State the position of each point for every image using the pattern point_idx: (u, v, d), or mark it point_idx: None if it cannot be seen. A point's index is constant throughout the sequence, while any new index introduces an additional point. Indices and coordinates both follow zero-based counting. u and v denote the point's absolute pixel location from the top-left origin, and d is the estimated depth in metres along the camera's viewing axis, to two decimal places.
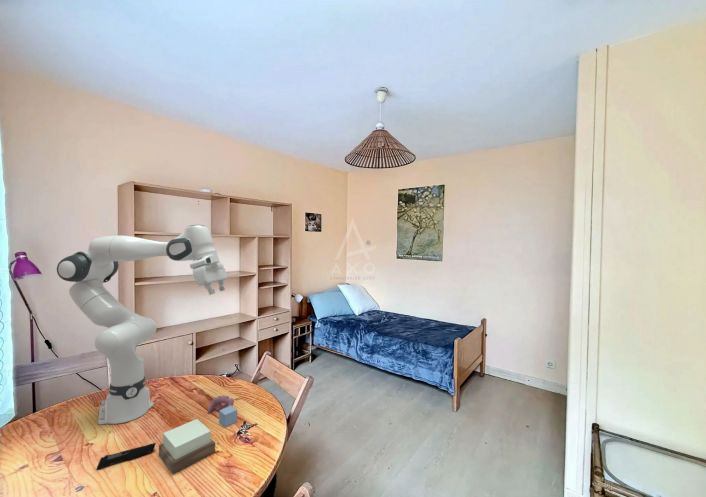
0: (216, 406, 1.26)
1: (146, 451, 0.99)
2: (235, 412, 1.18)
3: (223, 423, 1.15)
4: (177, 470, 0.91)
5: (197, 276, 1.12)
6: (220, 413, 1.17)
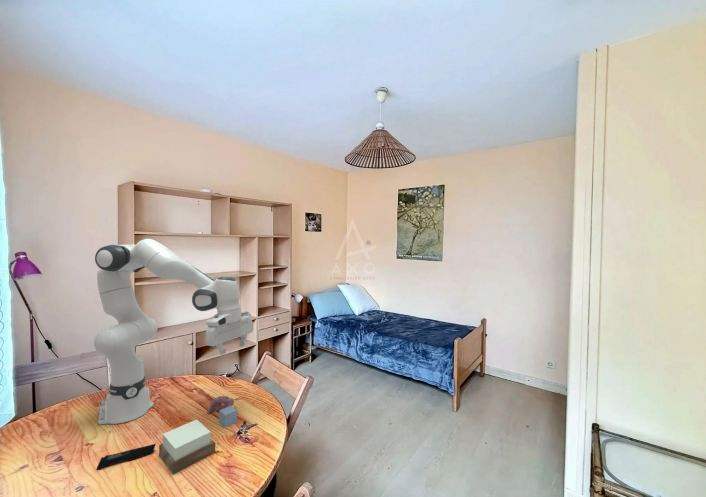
0: (216, 406, 1.26)
1: (146, 452, 0.98)
2: (235, 412, 1.18)
3: (223, 423, 1.15)
4: (177, 470, 0.91)
5: (207, 336, 1.11)
6: (220, 413, 1.17)
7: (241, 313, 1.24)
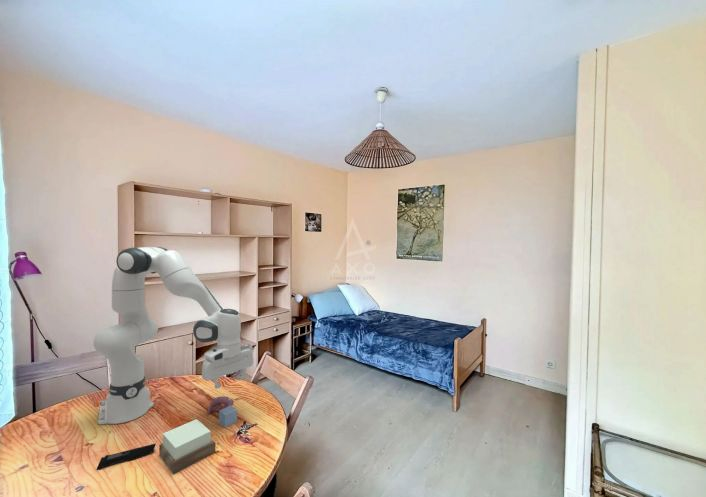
0: (215, 407, 1.26)
1: (146, 452, 0.98)
2: (235, 412, 1.18)
3: (223, 423, 1.15)
4: (177, 470, 0.91)
5: (203, 370, 1.11)
6: (220, 413, 1.17)
7: (242, 346, 1.22)
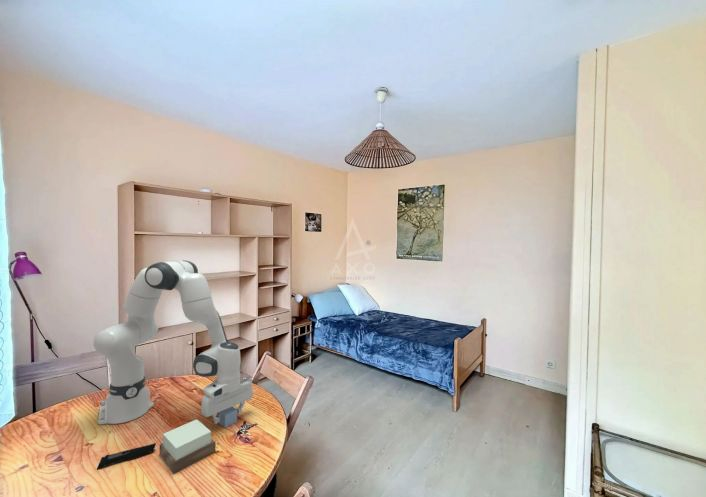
0: None
1: (146, 451, 0.99)
2: (235, 412, 1.18)
3: (223, 423, 1.15)
4: (177, 470, 0.91)
5: (202, 406, 1.11)
6: (220, 413, 1.17)
7: (241, 379, 1.22)
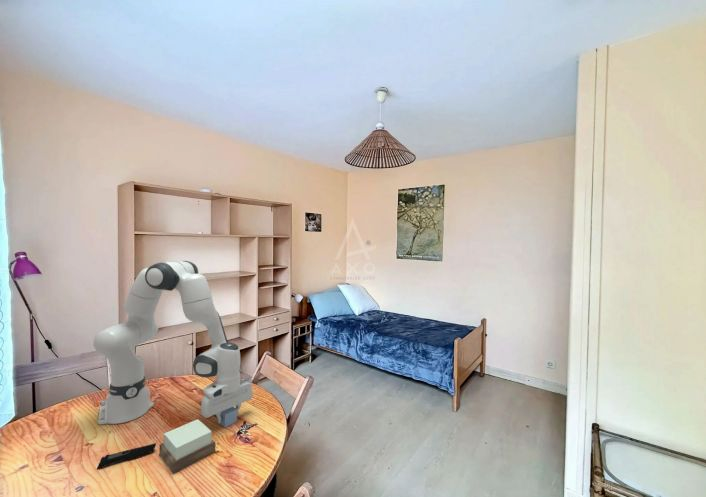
0: None
1: (146, 451, 0.98)
2: (235, 412, 1.18)
3: (223, 423, 1.15)
4: (177, 470, 0.91)
5: (202, 406, 1.11)
6: None
7: (241, 380, 1.22)
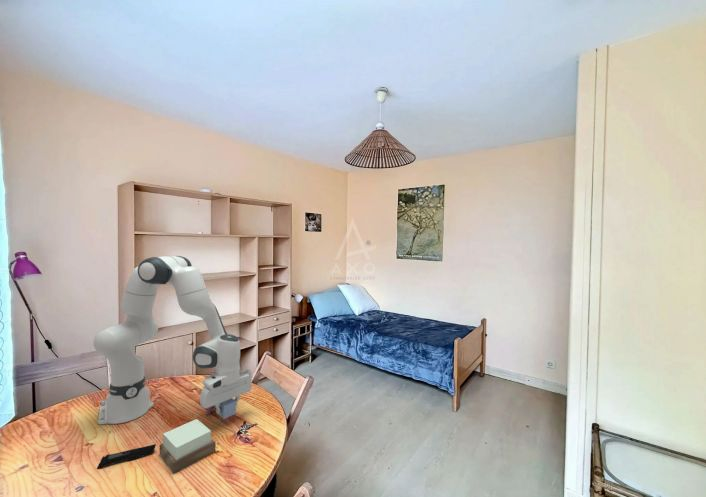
0: (215, 408, 1.25)
1: (146, 452, 0.98)
2: (234, 403, 1.18)
3: (222, 414, 1.15)
4: (178, 470, 0.92)
5: (201, 397, 1.11)
6: None
7: (241, 372, 1.22)
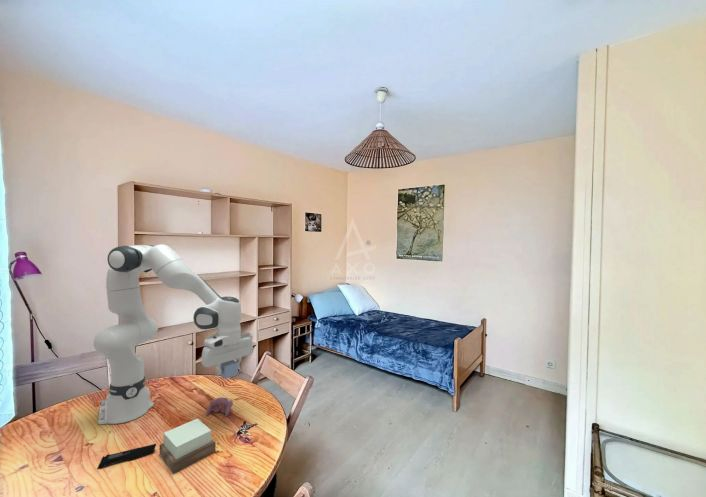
0: (214, 408, 1.25)
1: (146, 452, 0.98)
2: (236, 365, 1.17)
3: (224, 375, 1.15)
4: (177, 470, 0.92)
5: (202, 356, 1.11)
6: (221, 365, 1.17)
7: (242, 334, 1.22)
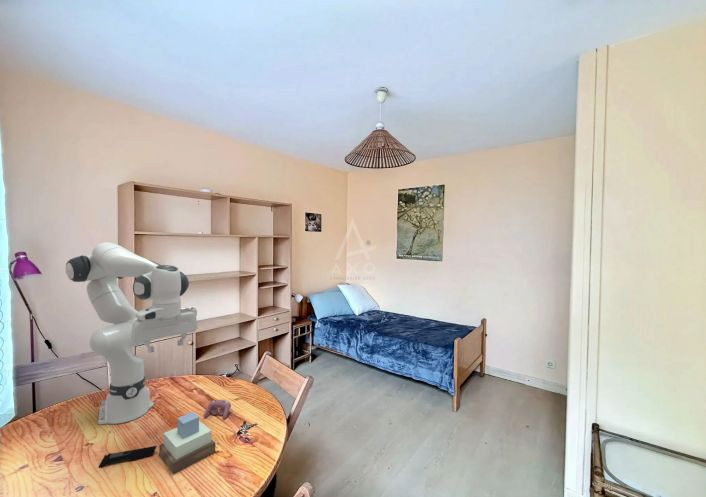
0: (212, 410, 1.23)
1: (146, 453, 0.97)
2: (196, 420, 0.99)
3: (181, 433, 0.97)
4: (177, 470, 0.91)
5: (132, 331, 0.98)
6: (178, 421, 0.98)
7: (183, 308, 1.09)
